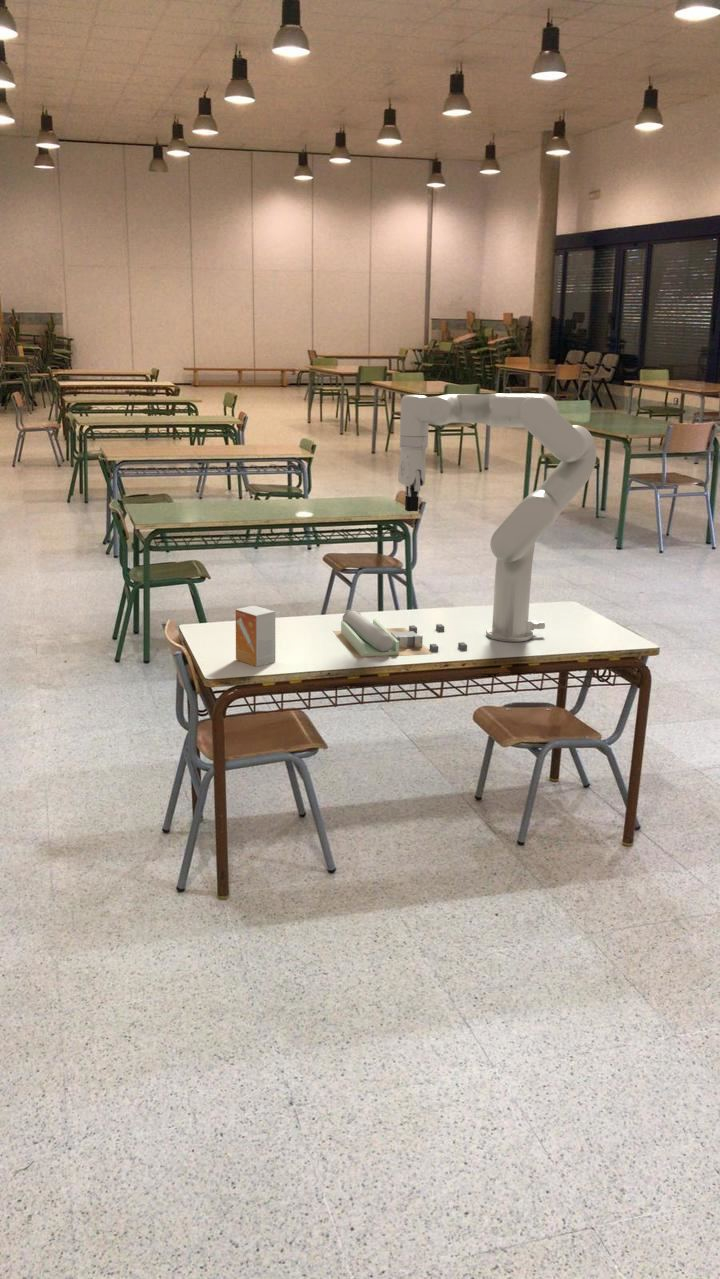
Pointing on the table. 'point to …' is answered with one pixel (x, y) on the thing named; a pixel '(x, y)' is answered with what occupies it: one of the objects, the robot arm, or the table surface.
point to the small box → (255, 635)
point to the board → (402, 652)
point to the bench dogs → (416, 641)
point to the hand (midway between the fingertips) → (411, 510)
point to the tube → (368, 631)
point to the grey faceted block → (408, 634)
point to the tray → (363, 645)
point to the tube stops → (433, 646)
